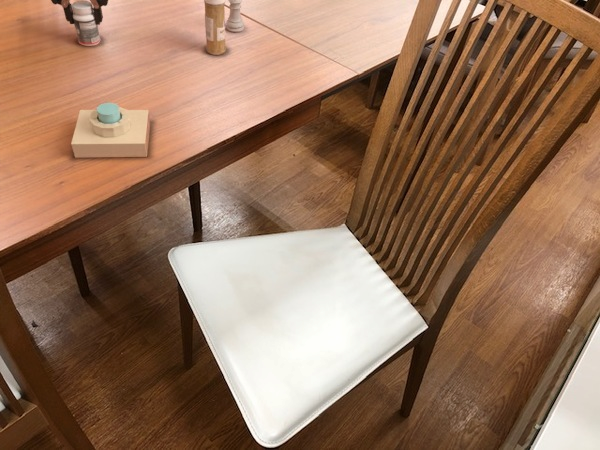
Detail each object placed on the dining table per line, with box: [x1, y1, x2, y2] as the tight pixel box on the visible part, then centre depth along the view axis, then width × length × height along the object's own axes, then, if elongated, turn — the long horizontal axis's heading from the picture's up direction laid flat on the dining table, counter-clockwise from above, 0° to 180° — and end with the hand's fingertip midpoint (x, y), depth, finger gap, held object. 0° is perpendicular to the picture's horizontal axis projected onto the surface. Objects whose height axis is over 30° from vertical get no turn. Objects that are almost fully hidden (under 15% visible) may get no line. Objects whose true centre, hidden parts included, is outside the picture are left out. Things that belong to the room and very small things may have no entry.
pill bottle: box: [71, 0, 101, 47], centre depth 111 cm, size 5×5×8 cm
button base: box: [70, 106, 151, 159], centre depth 89 cm, size 12×10×5 cm
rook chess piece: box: [225, 0, 245, 33], centre depth 122 cm, size 4×4×8 cm
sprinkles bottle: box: [203, 0, 227, 56], centre depth 112 cm, size 5×5×13 cm
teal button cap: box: [96, 102, 121, 124], centre depth 87 cm, size 4×4×2 cm
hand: (85, 22), depth 111 cm, fingers closed on pill bottle, 4 cm apart
